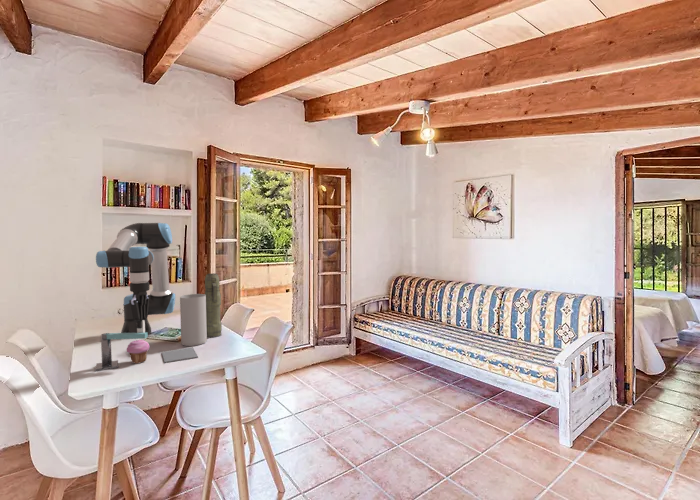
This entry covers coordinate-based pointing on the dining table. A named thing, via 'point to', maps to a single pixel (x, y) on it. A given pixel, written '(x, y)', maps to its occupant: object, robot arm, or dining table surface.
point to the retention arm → (124, 335)
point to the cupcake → (138, 350)
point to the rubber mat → (179, 355)
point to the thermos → (213, 305)
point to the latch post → (106, 357)
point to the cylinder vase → (193, 319)
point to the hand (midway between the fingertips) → (141, 334)
